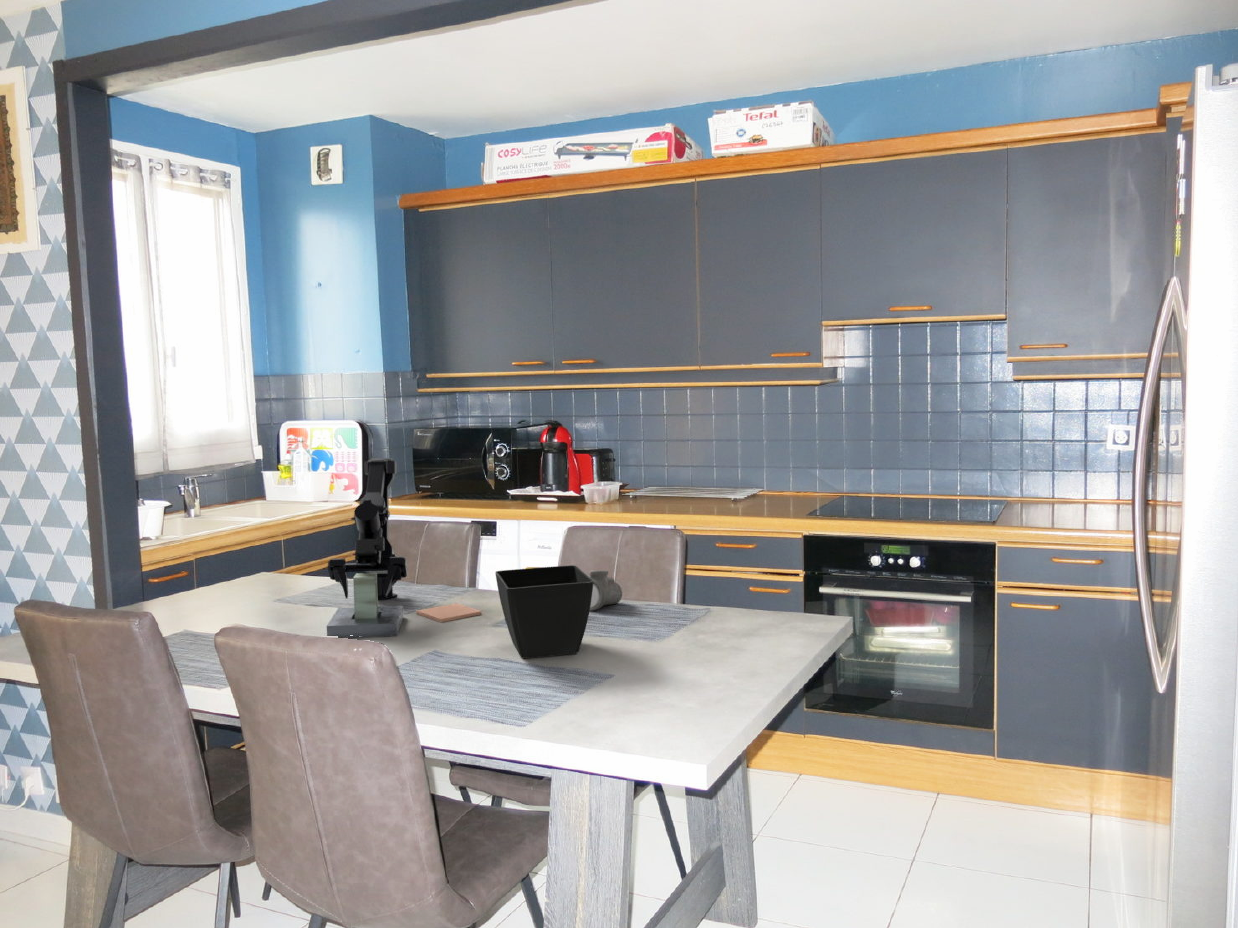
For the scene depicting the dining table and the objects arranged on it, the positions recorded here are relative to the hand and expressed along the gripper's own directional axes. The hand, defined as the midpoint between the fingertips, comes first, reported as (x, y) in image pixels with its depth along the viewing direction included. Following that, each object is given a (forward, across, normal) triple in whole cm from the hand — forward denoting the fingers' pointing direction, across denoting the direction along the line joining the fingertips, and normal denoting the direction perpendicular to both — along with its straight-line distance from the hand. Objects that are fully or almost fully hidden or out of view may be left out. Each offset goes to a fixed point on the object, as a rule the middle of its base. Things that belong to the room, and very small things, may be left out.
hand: (365, 596), depth 236 cm
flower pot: (+24, +42, -12) cm, 50 cm away
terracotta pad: (-2, +19, +13) cm, 24 cm away
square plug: (+5, 0, +6) cm, 8 cm away
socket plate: (+5, 0, +6) cm, 8 cm away
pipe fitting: (-3, +59, +14) cm, 61 cm away
